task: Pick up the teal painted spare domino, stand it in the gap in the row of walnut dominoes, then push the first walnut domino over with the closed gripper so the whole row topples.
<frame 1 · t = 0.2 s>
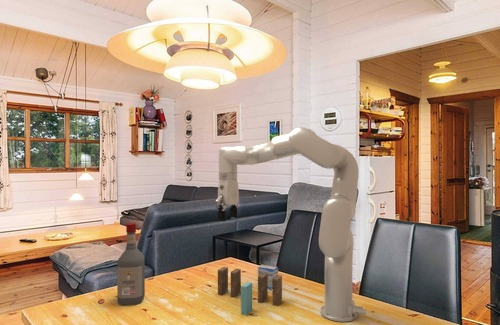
hand: (228, 218, 140), 31 cm above the table, tool pointing down, fingers open, 9 cm apart
domino 1: (277, 303, 131), on the table
liquor: (131, 301, 133), on the table
domino 2: (262, 300, 134), on the table
medicine box: (267, 287, 148), on the table
domino 4: (235, 295, 139), on the table
domino 5: (222, 292, 141), on the table
spare domino: (246, 312, 123), on the table
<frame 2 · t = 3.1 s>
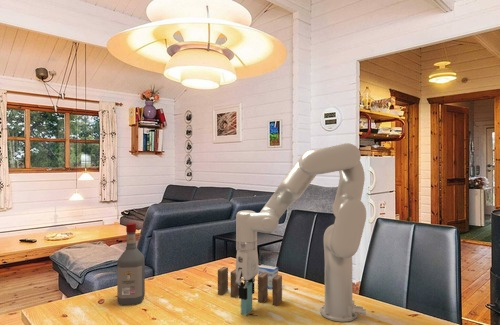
hand: (246, 295, 123), 6 cm above the table, tool pointing down, fingers closed on spare domino, 4 cm apart
spare domino: (246, 312, 123), on the table, touching gripper
everything else where it was.
when the fingers open (7 cm above the table, at t = 9.3 s): spare domino stays where it is, on the table.
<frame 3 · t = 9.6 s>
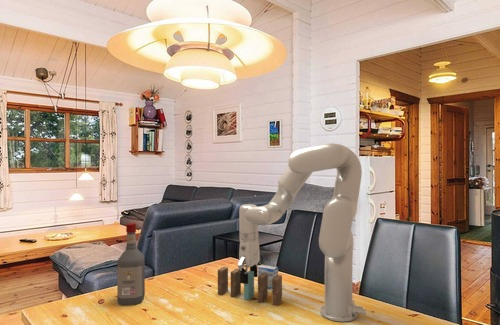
hand: (249, 279, 136), 7 cm above the table, tool pointing down, fingers open, 8 cm apart
spare domino: (249, 297, 136), on the table
everything else where it was.
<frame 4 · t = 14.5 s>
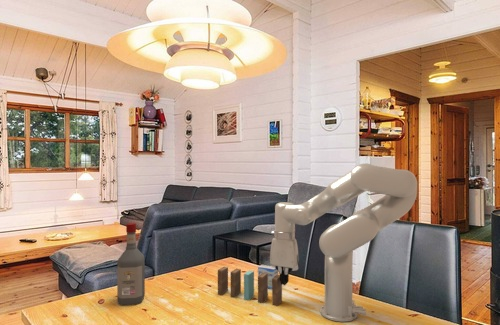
hand: (284, 283, 130), 8 cm above the table, tool pointing down, fingers closed
domino 1: (277, 303, 131), on the table, touching gripper
everything else where it was.
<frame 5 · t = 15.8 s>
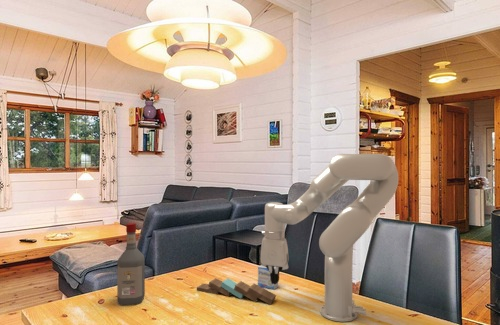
hand: (274, 282, 131), 8 cm above the table, tool pointing down, fingers closed
domino 1: (273, 299, 132), point 1 cm above the table, tilted 71°, touching domino 2
domino 2: (258, 297, 134), point 1 cm above the table, tilted 70°, touching domino 1, spare domino
domino 4: (232, 292, 140), point 1 cm above the table, tilted 75°, touching spare domino
domino 5: (220, 291, 142), on the table, tilted 90°
spare domino: (244, 294, 137), point 1 cm above the table, tilted 69°, touching domino 2, domino 4
everything else where it was.
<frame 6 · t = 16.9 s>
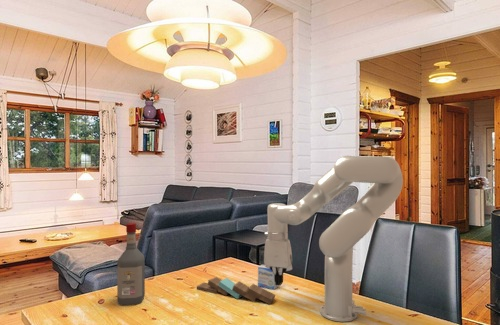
hand: (278, 284, 131), 7 cm above the table, tool pointing down, fingers closed
domino 1: (272, 299, 132), point 1 cm above the table, tilted 71°
domino 2: (257, 297, 134), point 1 cm above the table, tilted 71°, touching spare domino
domino 4: (229, 291, 140), point 1 cm above the table, tilted 75°, touching domino 5, spare domino
domino 5: (219, 290, 143), on the table, tilted 90°, touching domino 4
spare domino: (241, 294, 137), point 1 cm above the table, tilted 69°, touching domino 2, domino 4
everything else where it was.
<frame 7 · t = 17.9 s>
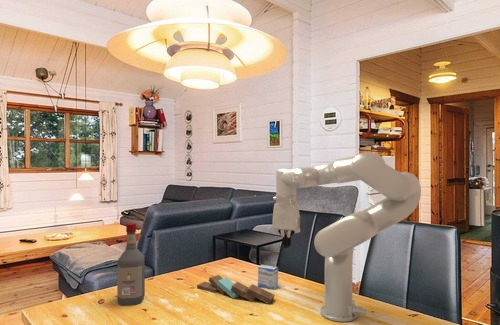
hand: (286, 246, 134), 21 cm above the table, tool pointing down, fingers closed
domino 1: (272, 299, 132), point 1 cm above the table, tilted 72°, touching domino 2
domino 2: (255, 297, 134), point 1 cm above the table, tilted 71°, touching domino 1, spare domino
domino 4: (228, 290, 141), point 1 cm above the table, tilted 73°, touching spare domino
domino 5: (218, 290, 143), on the table, tilted 90°
spare domino: (238, 294, 137), point 1 cm above the table, tilted 70°, touching domino 2, domino 4
everything else where it was.
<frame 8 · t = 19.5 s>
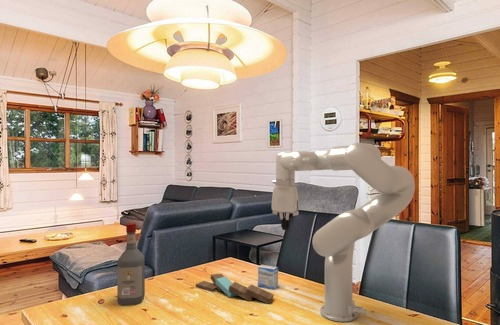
hand: (285, 229, 136), 27 cm above the table, tool pointing down, fingers closed
domino 2: (253, 296, 135), point 1 cm above the table, tilted 72°, touching domino 1, spare domino
domino 4: (225, 288, 143), point 1 cm above the table, tilted 75°, touching spare domino
domino 5: (216, 289, 144), on the table, tilted 90°
spare domino: (234, 293, 138), point 1 cm above the table, tilted 70°, touching domino 2, domino 4
everything else where it was.
at the end: domino 5 tilted 90°; spare domino tilted 71°; spare domino inside the target area (1.9 cm from its centre), point 1.0 cm above the table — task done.
